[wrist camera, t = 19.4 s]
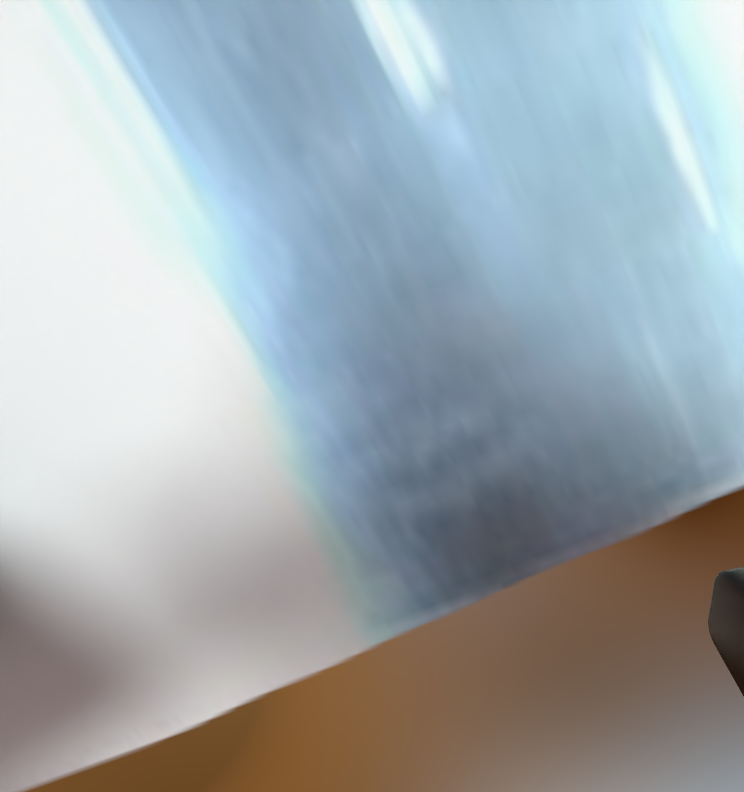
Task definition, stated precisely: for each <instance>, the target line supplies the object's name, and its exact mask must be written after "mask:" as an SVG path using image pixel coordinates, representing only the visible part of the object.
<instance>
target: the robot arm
mask: <svg viewBox="0 0 744 792" xmlns="http://www.w3.org/2000/svg"><path fill="white" fill-rule="evenodd" d="M708 624H709V631H710V635H711V637H712V640H713V642H714V644H715V646H716V648H717V650H718V651H719V653H720V655H721V657H722V659H723V660H724V662H725V664H726V666H727V667H728V669H729V671H730V673H731V675H732V676H733V678H734V680H735V682H736V683H737V685H738V687H739V689H740V691H741V692H742V694H743V696H744V567H741V568H736V569H731V570H726V571H723V572H721V573H719V574H718V576H717V577H716V579H715V583H714V589H713V596H712V602H711V608H710V613H709V620H708Z"/></svg>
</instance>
